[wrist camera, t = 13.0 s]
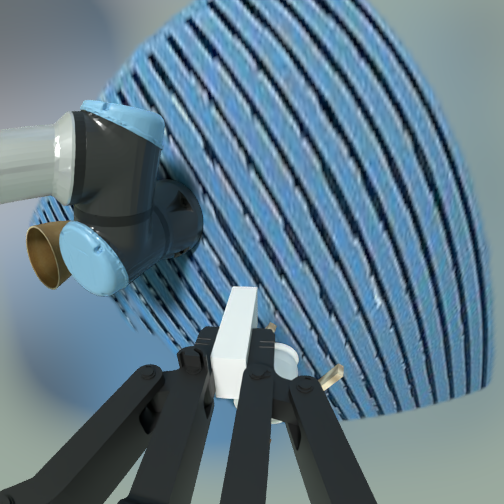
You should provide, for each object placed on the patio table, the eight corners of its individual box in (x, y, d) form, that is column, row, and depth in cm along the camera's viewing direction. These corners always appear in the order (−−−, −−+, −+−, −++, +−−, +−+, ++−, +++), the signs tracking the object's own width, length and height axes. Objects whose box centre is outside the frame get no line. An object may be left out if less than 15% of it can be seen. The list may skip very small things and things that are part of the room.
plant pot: (104, 209, 57) (51, 232, 42) (111, 267, 63) (65, 298, 48) (68, 203, 60) (20, 222, 46) (75, 255, 66) (33, 279, 52)
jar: (311, 349, 54) (299, 405, 41) (293, 378, 59) (278, 430, 45) (264, 330, 56) (240, 383, 42) (250, 361, 60) (227, 410, 47)
